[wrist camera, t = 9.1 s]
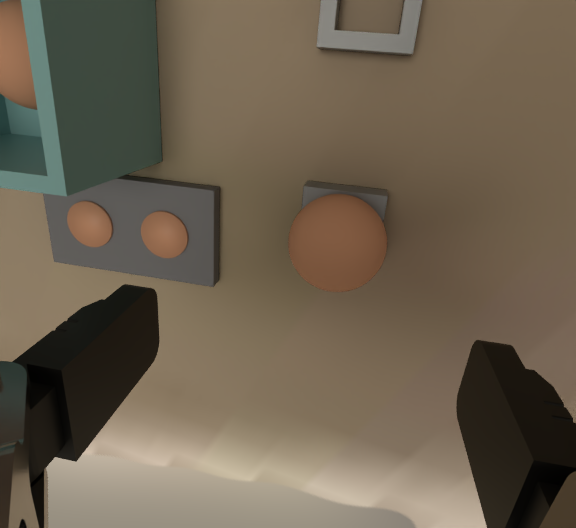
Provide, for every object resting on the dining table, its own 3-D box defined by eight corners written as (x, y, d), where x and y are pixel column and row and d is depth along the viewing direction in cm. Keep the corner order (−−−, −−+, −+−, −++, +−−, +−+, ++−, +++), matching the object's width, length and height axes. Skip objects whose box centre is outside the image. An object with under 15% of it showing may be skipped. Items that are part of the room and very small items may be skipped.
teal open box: (153, -45, 17) (23, -120, 11) (162, 161, 20) (66, 196, 14) (-26, -53, 18) (-239, -125, 12) (10, 143, 22) (-142, 168, 15)
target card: (219, 186, 20) (212, 191, 19) (218, 280, 22) (212, 288, 21) (50, 165, 22) (36, 169, 21) (64, 256, 24) (51, 263, 23)
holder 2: (387, 189, 19) (387, 196, 18) (374, 263, 20) (374, 273, 19) (307, 180, 19) (303, 186, 18) (300, 253, 21) (296, 262, 20)
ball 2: (393, 190, 18) (397, 216, 15) (378, 274, 20) (378, 317, 16) (300, 179, 19) (283, 202, 15) (293, 262, 20) (276, 301, 17)
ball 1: (105, 11, 18) (37, -8, 14) (113, 111, 19) (55, 118, 16) (19, 5, 18) (-68, -15, 15) (34, 103, 20) (-41, 108, 16)
